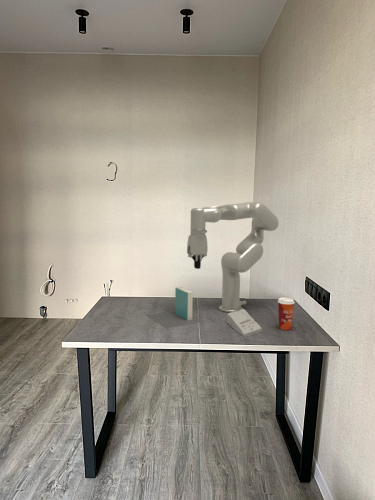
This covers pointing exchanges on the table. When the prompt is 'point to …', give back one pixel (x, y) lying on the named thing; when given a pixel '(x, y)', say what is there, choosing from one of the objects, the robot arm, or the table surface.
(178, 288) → the tile
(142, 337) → the table surface
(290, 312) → the paper cup
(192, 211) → the robot arm
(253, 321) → the ramp
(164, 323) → the mat
